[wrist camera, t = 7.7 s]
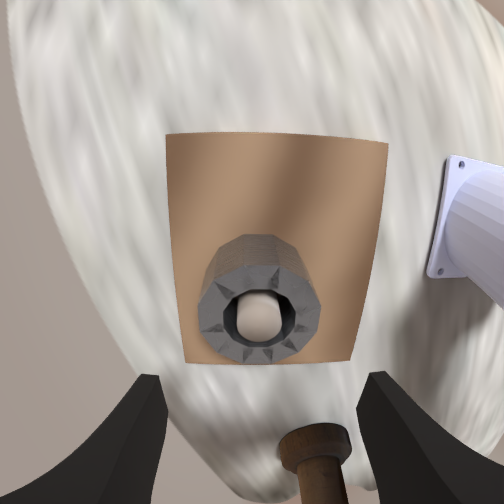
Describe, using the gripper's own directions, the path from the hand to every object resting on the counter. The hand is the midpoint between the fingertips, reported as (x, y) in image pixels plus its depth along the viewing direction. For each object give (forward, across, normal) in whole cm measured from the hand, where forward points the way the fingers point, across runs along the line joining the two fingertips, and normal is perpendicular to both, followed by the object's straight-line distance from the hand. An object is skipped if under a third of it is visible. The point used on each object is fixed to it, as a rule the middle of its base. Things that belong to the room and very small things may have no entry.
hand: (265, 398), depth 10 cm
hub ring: (+8, 0, 0) cm, 8 cm away
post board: (+9, -1, -1) cm, 9 cm away
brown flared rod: (+9, -6, +18) cm, 21 cm away
